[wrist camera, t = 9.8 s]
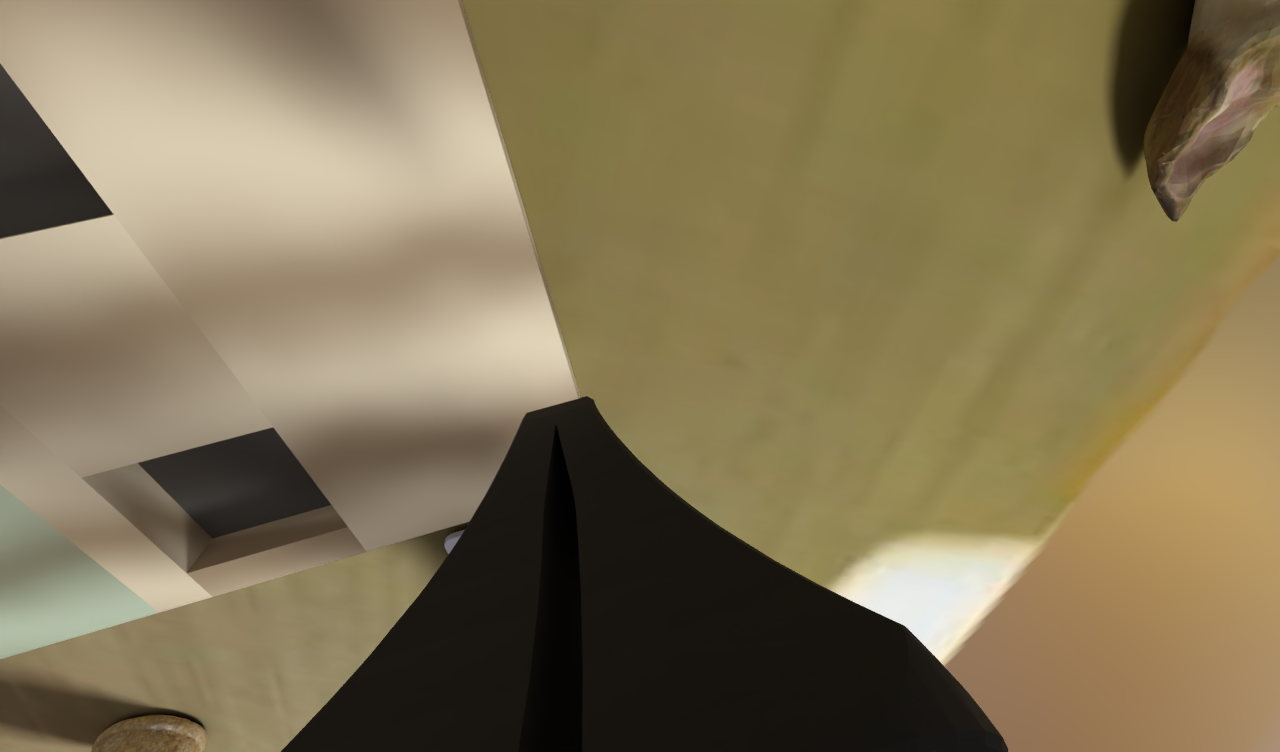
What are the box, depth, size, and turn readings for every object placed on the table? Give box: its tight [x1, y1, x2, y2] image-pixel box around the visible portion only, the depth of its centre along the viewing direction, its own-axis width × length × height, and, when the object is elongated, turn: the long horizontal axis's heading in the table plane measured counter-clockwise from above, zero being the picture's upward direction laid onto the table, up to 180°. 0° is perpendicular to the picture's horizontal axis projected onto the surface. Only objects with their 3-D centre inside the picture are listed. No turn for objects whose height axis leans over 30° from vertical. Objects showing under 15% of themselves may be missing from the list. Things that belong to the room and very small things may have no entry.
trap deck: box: [0, 0, 581, 659], centre depth 13 cm, size 20×26×4 cm
